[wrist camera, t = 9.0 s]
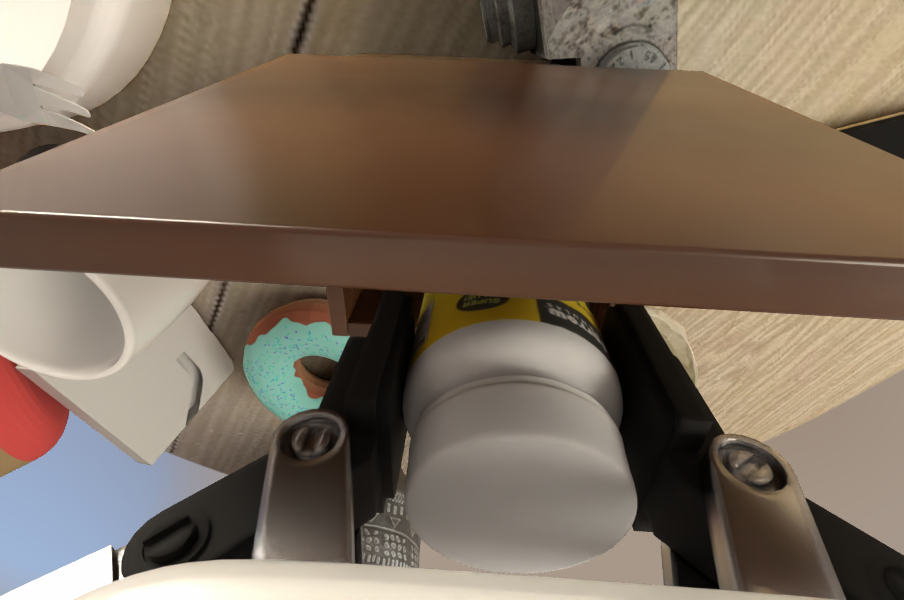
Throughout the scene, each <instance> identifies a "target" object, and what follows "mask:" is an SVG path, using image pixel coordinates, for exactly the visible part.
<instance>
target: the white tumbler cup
mask: <svg viewBox="0 0 904 600" xmlns="http://www.w3.org/2000/svg"><path fill="white" fill-rule="evenodd" d="M210 281H211V280H199V279H182V278H165V277H148V276H130V275H113V274H96V273H79V272H61V271H44V270H27V269H10V268H0V355H1V356H3V357H5V358H6V359H8V360H10V361H12V362H14V363H16V364H18V365H20V366H22V367H25V368H27V369H30V370H32V371H35V372H38V373H41V374H44V375H47V376H51V377H55V378H60V379H67V380H95V379H100V378H104V377H107V376H110V375H112V374H114V373H116V372H117V371H119V370H120V369H122V368H123V367H124V366H125V365H126V364H127V363H129V362H130V361H131V360H132V359H133V358H134V357H136V356H137V355H138V354H139V353H141V352H142V351H143V350H144V349H145V348H146V347H148V346H149V345H150V344H151V343H152V342H153V341H154V340H156V339H157V338H158V337H159V336H160V335H161V334H162V333H163V332H164V331H165V330H166V329H167V328H169V327H170V326H171V325H172V324H173V323H174V322H175V321H176V320H177V319H178V318H179V317H180V315H181V314H182V313H183V312H184V311H185V310H186V309H187V308H188V307H189V306H190V305H191V304H192V302H193V301H194V300H195V299H196V298H197V297H198V295H199V294H200V293H201V292H202V291H203V290H204V288H205V287H206V286H207V285H208V283H209V282H210Z"/></svg>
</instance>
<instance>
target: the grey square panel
mask: <svg viewBox="0 0 904 600" xmlns="http://www.w3.org/2000/svg"><path fill="white" fill-rule="evenodd" d="M229 353H230V352H229ZM15 369H17V370H18V371H19V372H21V373H22V374H23V375H25V376H26V377H27V378H29V379H30V380H31V381H33V382H34V383H35V384H36V385H38V386H39V387H40V388H42V389H43V390H44V391H46V392H47V393H48V394H49V395H51V396H52V397H53V398H55V399H56V400H57V401H58V402H60V403H61V404H62V405H64V406H65V407H66V408H67V409H69V410H70V411H71V412H73V413H74V414H75V415H77V416H78V417H79V418H80V419H82V420H83V421H84V422H86V423H87V424H88V425H90V426H91V427H92V428H93V429H95V430H96V431H97V432H99V433H100V434H101V435H102V436H104V437H105V438H106V439H108V440H109V441H110V442H111V443H113V444H114V445H115V446H116V447H118V448H119V449H120V450H122V451H123V452H124V453H126V454H127V455H129V456H130V457H131V458H133V459H134V460H135V461H137V462H139V463H144V464H148V465H153V463H154V462H155V461H156V460H157V459H158V458H159V456H160V455H161V454H162V453H163V452H164V451H165V450H166V448H167V447H168V446H169V445H170V444H171V443H172V441H173V440H174V439H175V438H176V437H177V436H178V434H179V433H180V432H181V431H182V430H183V429H184V428H185V426H186V425H187V424H188V423H189V422H190V421H191V419H192V418H193V417H194V416H195V415H196V414H197V412H198V411H199V410H200V409H201V408H202V407H203V406H204V404H205V403H206V402H207V401H208V400H209V399H210V397H211V396H212V395H213V394H214V393H215V392H216V390H217V389H218V388H219V387H220V386H221V385H222V384H223V382H224V381H225V380H226V379H227V378H228V377H229V375H230V374H231V373H232V372H233V371H234V370H235V369H234V366H233V362H232V359H231V355H230V357H229V356H228V354H227V352H226V351H225V349H224V348H223V346H222V345H221V343H220V342H219V341H218V339H217V338H216V337H215V335H214V334H213V333H212V332H210V330H209V328H208V327H207V326H206V324H205V323H204V321H203V320H202V318H201V317H200V315H199V314H198V313H197V311H196V310H195V309H194V308H193V306H192V305H190V306H189V307H188V308H187V309H186V310H185V311H184V312H183V313H182V314H181V315H180V317H179V318H178V319H177V320H176V321H175V322H174V323H173V324H172V325H171V326H170V327H169V328H167V329H166V330H165V331H164V332H163V333H162V334H161V335H160V336H159V337H158V338H157V339H156V340H154V341H153V342H152V343H151V344H150V345H149V346H148V347H146V348H145V349H144V350H143V351H142V352H141V353H139V354H138V355H137V356H136V357H134V358H133V359H132V360H131V361H130V362H129V363H127V364H126V365H125V366H124V367H123V368H122V369H120V370H119V371H117V372H116V373H114V374H112V375H110V376H107V377H104V378H100V379H95V380H67V379H60V378H55V377H51V376H47V375H44V374H41V373H38V372H35V371H32V370H30V369H27V368H25V367H22V366H20V365H17V366H16V367H15Z"/></svg>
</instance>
